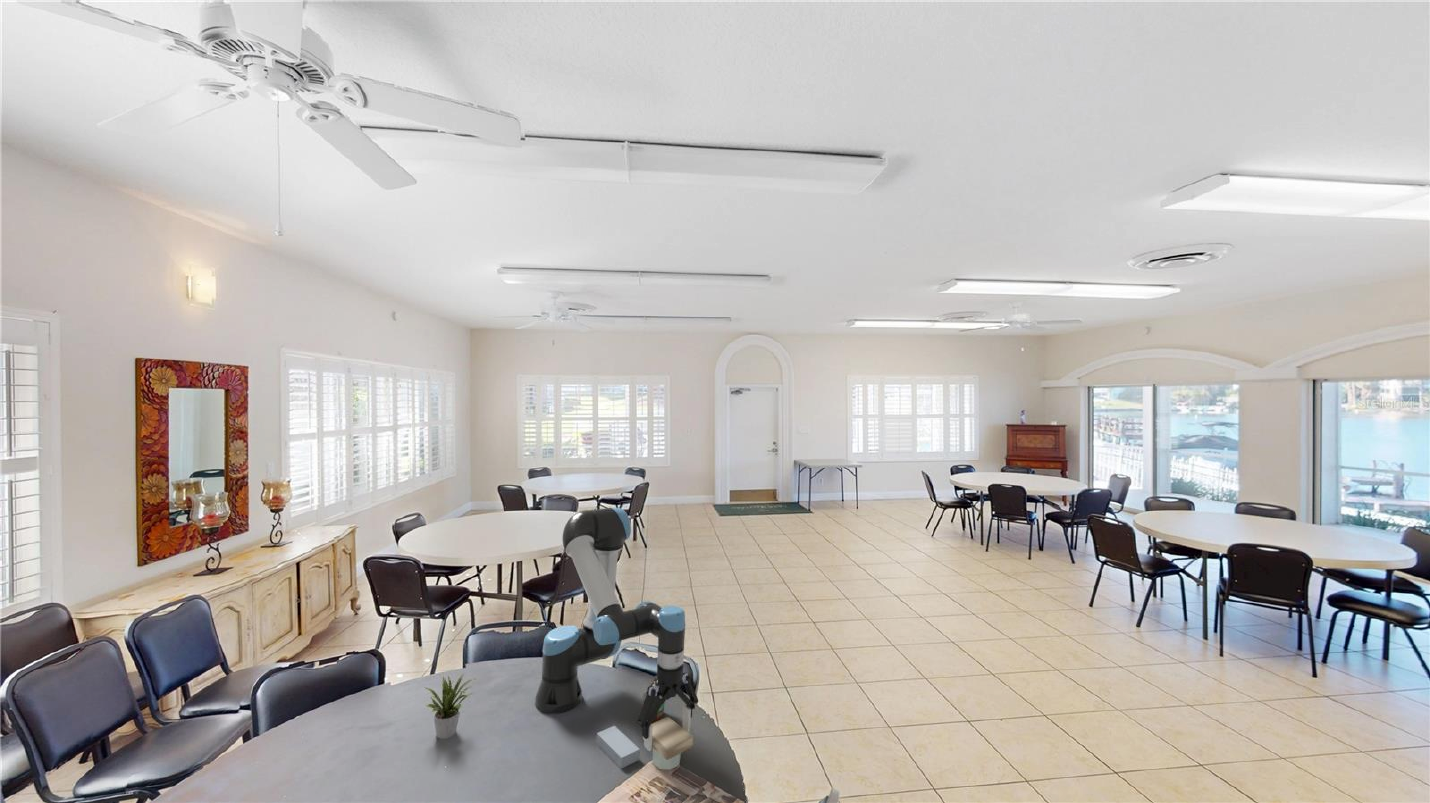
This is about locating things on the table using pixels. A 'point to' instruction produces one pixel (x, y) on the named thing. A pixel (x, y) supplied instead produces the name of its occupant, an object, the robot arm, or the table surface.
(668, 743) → the gold metallic plate
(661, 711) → the food container
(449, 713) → the house plant
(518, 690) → the table surface
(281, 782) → the table surface
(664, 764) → the cup
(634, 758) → the light gray rectangular block
